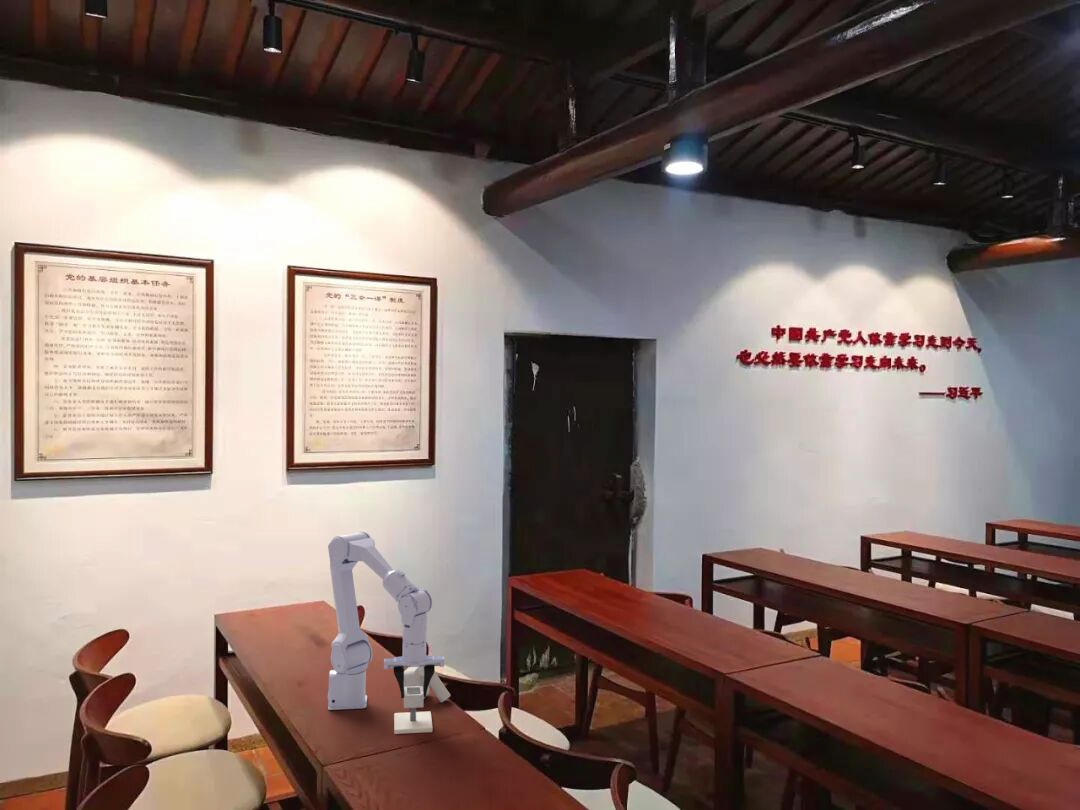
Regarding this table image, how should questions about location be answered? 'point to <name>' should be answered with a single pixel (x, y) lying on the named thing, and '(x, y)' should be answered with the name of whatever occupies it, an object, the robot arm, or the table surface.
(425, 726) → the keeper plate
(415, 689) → the hollow square tube
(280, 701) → the table surface
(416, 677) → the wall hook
